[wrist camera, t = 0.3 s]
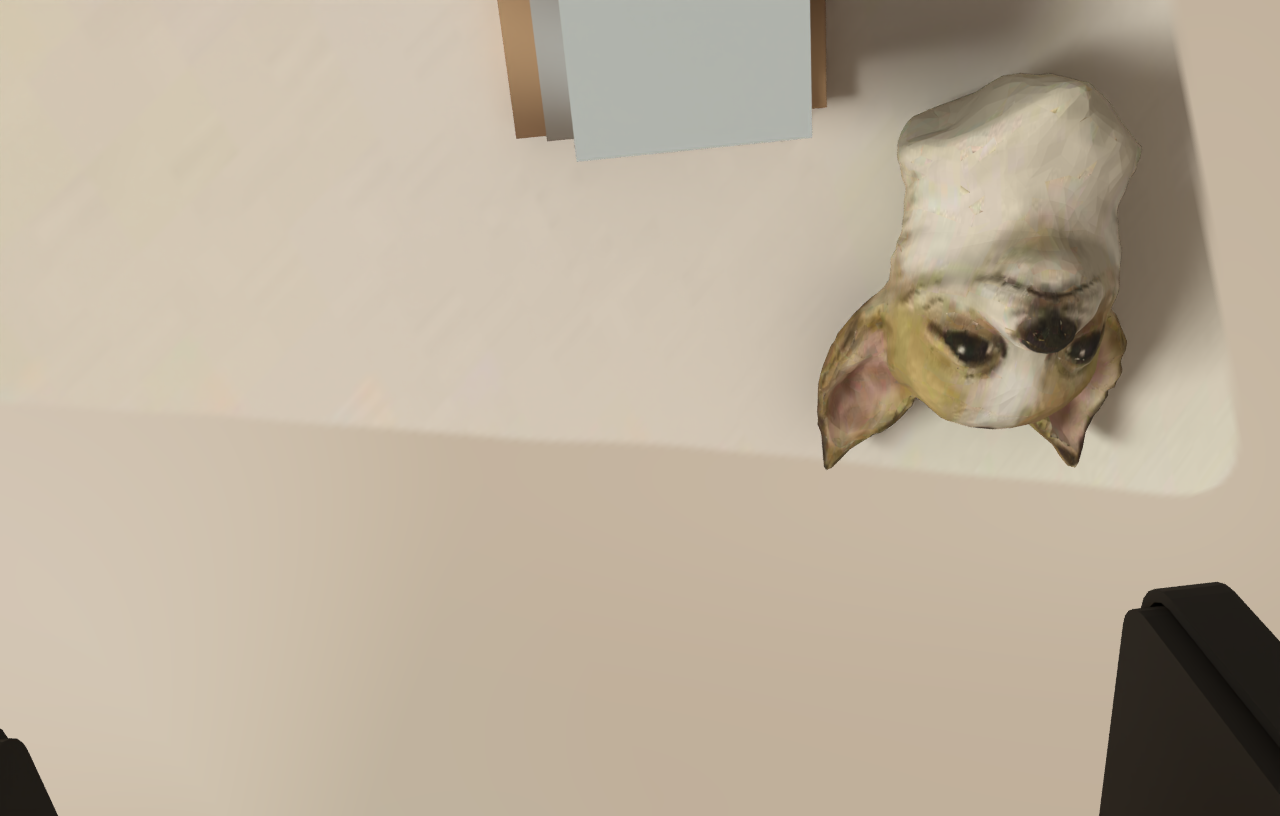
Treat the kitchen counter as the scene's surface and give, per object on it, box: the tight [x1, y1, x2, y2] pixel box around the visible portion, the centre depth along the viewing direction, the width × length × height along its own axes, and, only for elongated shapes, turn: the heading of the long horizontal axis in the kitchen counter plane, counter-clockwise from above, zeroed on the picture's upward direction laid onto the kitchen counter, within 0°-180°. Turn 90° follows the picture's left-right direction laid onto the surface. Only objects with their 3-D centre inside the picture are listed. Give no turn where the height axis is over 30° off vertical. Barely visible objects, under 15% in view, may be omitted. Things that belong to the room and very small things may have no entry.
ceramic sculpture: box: [817, 73, 1142, 469], centre depth 36 cm, size 11×9×15 cm
